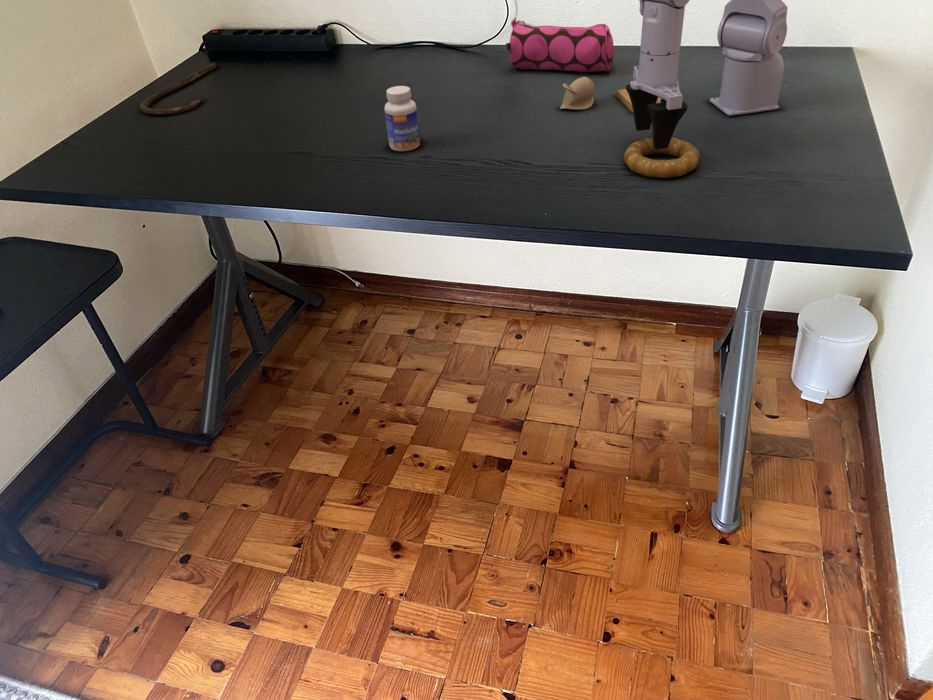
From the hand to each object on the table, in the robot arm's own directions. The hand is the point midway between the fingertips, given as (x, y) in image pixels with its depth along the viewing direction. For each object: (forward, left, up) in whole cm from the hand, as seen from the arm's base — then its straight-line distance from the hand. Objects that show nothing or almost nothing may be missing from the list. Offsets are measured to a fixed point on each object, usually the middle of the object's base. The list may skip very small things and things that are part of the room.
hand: (651, 138), depth 116 cm
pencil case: (+2, -45, -3) cm, 45 cm away
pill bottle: (+38, -17, -3) cm, 42 cm away
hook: (+79, -62, -3) cm, 100 cm away
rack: (-8, -22, -3) cm, 23 cm away
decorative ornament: (+5, -24, -3) cm, 24 cm away
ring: (0, +4, -1) cm, 4 cm away
